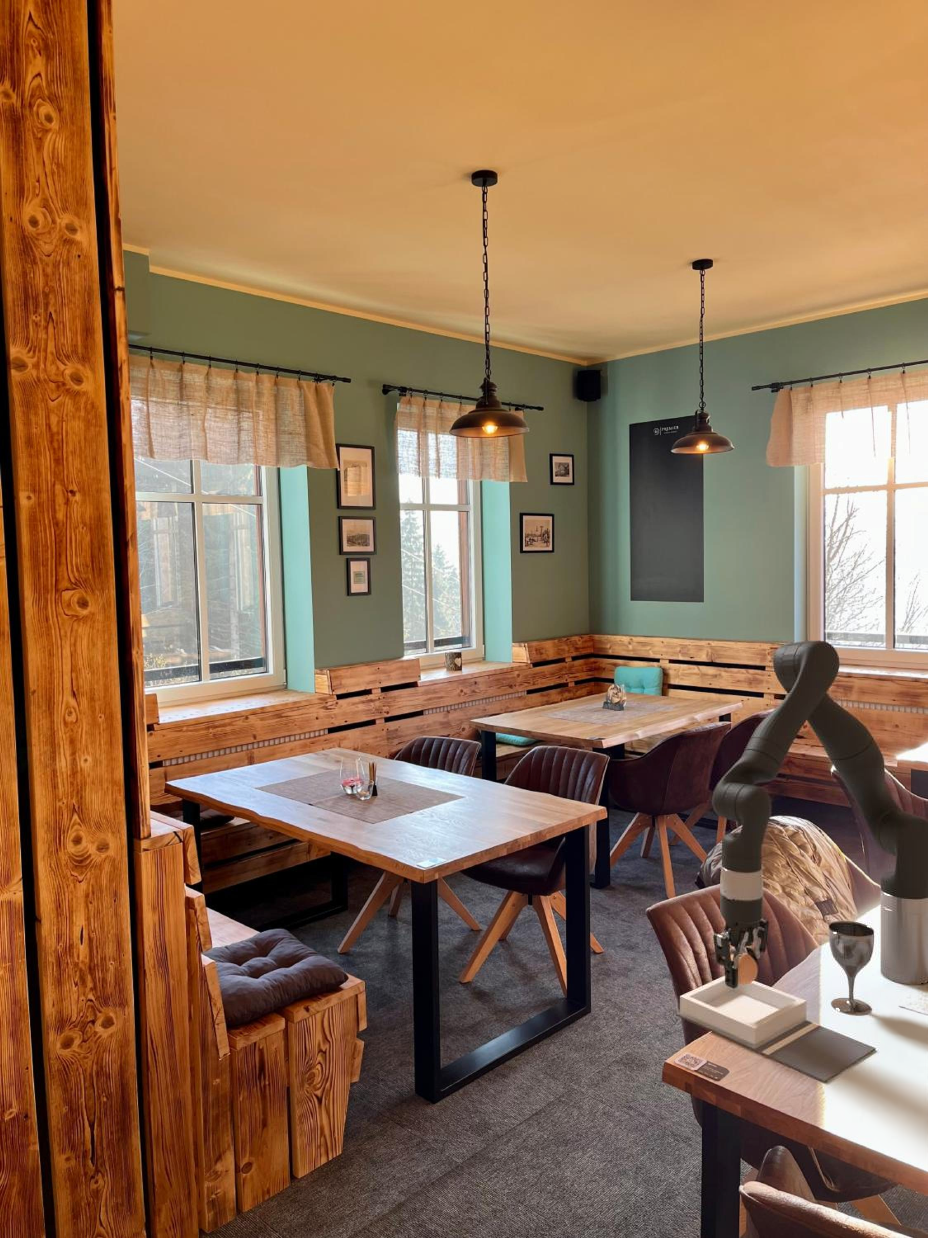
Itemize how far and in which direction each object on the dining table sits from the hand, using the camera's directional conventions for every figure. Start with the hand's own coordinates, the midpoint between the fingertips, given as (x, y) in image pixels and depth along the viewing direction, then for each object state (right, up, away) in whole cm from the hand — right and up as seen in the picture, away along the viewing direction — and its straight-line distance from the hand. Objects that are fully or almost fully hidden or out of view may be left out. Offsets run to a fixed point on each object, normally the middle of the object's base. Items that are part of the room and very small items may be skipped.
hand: (741, 981), depth 167 cm
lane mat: (+4, -7, -4) cm, 9 cm away
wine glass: (+22, -7, +5) cm, 24 cm away
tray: (0, -7, 0) cm, 7 cm away
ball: (0, +2, 0) cm, 2 cm away
